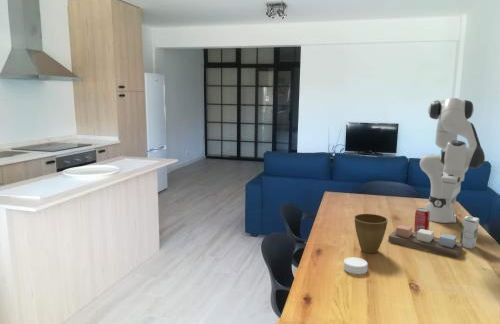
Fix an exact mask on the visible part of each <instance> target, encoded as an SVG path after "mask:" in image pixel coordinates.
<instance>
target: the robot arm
mask: <svg viewBox="0 0 500 324" xmlns="http://www.w3.org/2000/svg"><path fill="white" fill-rule="evenodd" d="M474 111H475V109H474V104H473V102H472V101H471V100H466V99H465V100H461V99H459V98H457V97H450V98H449V97H448V99H445V100H443V99H442V100H438V99H437V100H433V101H432V102H430V104H429V105H428V110H427V113H428V115H429V118H431V119H433V120H437V125H436V131H435V141H434V142H435V145H436V146H437V147H438V148H439V149H441V150H440V154H434V153H433V154H425V155H423V156H422V157H421V159H420V160H419V168H420V169H421V171H422V172H424V173H425V175H427V177H428V178H429V181H430V195H429V197H428V199H429V200H428V202H427V203H426V204H425V209H428V210H429V212H430V219H429V221H431V222H436V223H439V224H440V223H441V224H442V223H444V224H447V223H450V224H451V223H457V215H456V214H455V212H454V207H453V205H452V204H456V202H457V201H456V200H457V196H458V195H459V193H460V192H461V185H462V182H464V181H465V177H466V176H465V175H466V174H465V173H466V172H467V171H468V170H469V169H475V170H476V169H478V168H480V167H483V165H484V164H485V159H486V155H485V151H484V150H483V148H482V146H481V142H480V140H479V136H478V133H477V130H476V127H475V125H474V123H473V122H470V121H468V120H469V119H471V118H472V116H473V113H474ZM458 136H461V137H464V138H465V139H466V140H467V143H468V146H467V143H466V142H465V141H463V140H458Z"/></svg>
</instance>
